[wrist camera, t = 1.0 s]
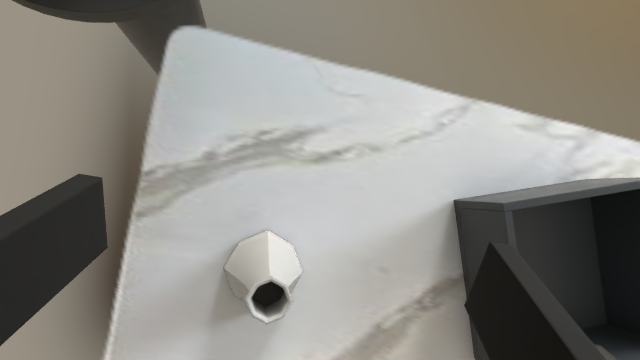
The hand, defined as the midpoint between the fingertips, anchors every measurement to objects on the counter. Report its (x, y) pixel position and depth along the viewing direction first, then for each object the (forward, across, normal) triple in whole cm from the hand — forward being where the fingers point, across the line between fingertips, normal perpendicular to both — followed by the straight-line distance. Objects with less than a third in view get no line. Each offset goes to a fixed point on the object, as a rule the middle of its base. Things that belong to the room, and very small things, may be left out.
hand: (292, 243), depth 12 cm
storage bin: (+25, +27, -14) cm, 39 cm away
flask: (+19, -3, -15) cm, 24 cm away
